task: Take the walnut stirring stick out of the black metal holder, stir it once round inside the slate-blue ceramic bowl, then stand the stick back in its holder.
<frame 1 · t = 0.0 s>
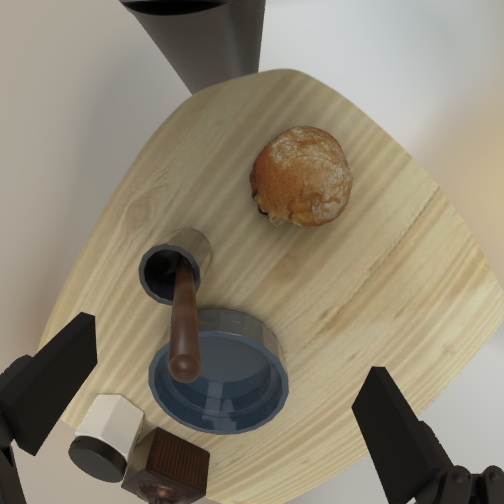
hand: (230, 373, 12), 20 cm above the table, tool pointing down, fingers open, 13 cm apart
stick: (185, 253, 31), point 1 cm above the table, tilted 11°, touching holder
manual coffee grinder: (182, 457, 41), on the table
bread roll: (298, 179, 30), on the table
holder: (187, 252, 32), on the table
jar: (120, 411, 38), on the table
bowl: (221, 360, 35), on the table
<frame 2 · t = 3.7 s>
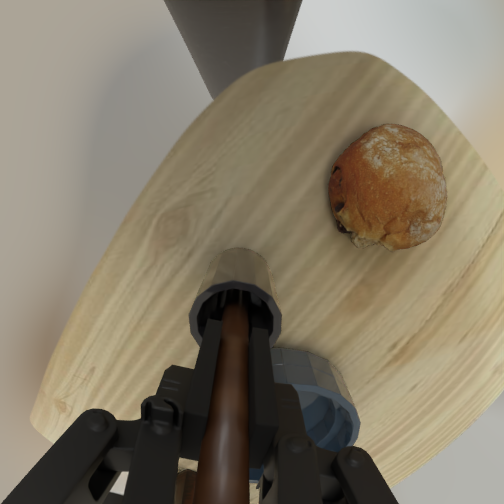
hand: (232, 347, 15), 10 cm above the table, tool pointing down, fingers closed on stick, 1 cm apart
stick: (238, 281, 24), point 1 cm above the table, touching gripper, holder
manual coffee grinder: (212, 495, 34), on the table
bread roll: (379, 189, 23), on the table
holder: (239, 279, 25), on the table
jar: (143, 453, 31), on the table
bowl: (272, 403, 28), on the table
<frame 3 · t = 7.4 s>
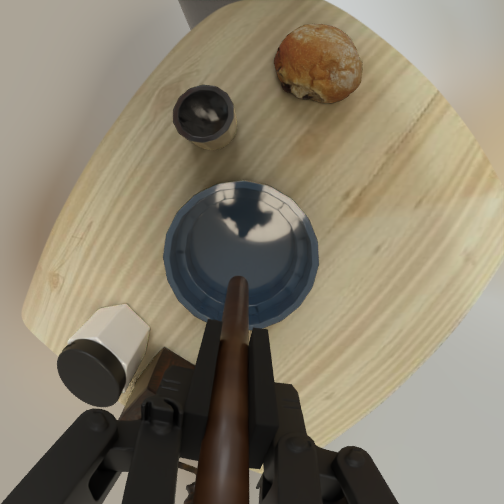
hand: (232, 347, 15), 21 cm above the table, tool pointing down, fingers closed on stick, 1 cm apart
stick: (238, 282, 24), point 11 cm above the table, touching gripper
manual coffee grinder: (189, 393, 41), on the table
bread roll: (315, 69, 30), on the table
holder: (213, 127, 31), on the table
jar: (123, 329, 38), on the table
bowl: (241, 247, 35), on the table
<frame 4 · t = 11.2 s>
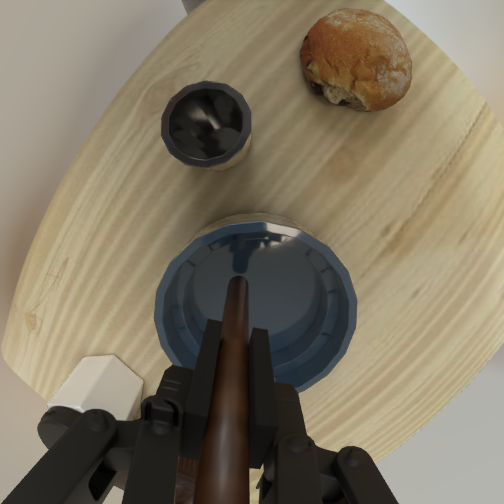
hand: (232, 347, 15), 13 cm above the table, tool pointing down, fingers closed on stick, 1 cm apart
stick: (238, 282, 24), point 3 cm above the table, touching gripper
manual coffee grinder: (191, 445, 33), on the table
bread roll: (350, 67, 22), on the table
holder: (218, 139, 24), on the table
jar: (112, 380, 30), on the table
bowl: (254, 295, 27), on the table
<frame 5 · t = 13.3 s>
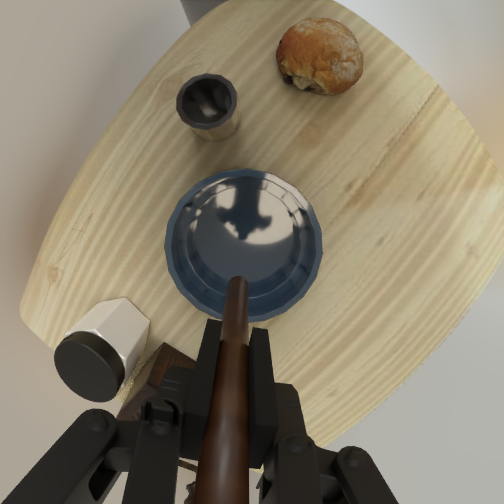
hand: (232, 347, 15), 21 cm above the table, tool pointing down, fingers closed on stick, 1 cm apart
stick: (238, 282, 24), point 11 cm above the table, touching gripper
manual coffee grinder: (190, 391, 40), on the table
bread roll: (316, 62, 30), on the table
holder: (215, 118, 31), on the table
jar: (122, 324, 37), on the table
bowl: (244, 238, 34), on the table
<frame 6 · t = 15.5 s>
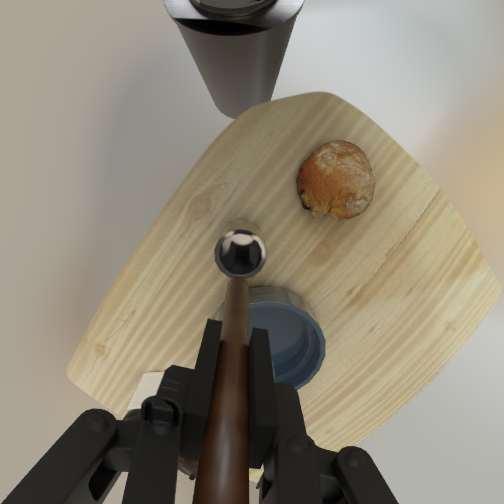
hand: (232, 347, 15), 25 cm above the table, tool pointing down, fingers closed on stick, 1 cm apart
stick: (238, 282, 24), point 16 cm above the table, touching gripper
manual coffee grinder: (217, 431, 48), on the table
bread roll: (332, 182, 38), on the table
holder: (241, 239, 39), on the table
jar: (164, 388, 45), on the table
bowl: (264, 333, 43), on the table
when the fingers open (10 cm above the table, at t = 18.9 s): stick stays where it is, resting on holder.
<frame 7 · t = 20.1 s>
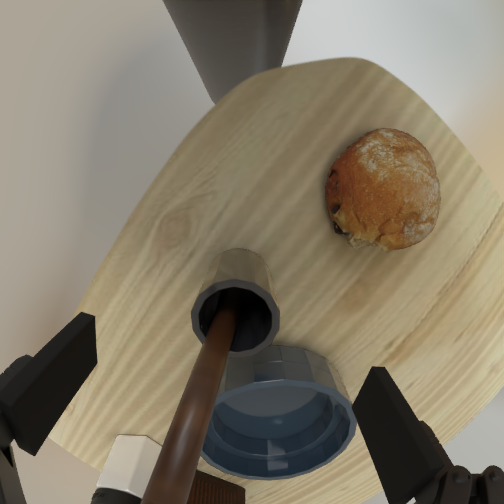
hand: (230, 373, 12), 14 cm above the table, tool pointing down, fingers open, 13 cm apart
stick: (238, 282, 25), point 1 cm above the table, tilted 10°, touching holder
manual coffee grinder: (212, 493, 34), on the table
bread roll: (375, 191, 24), on the table
holder: (238, 278, 26), on the table
jar: (144, 451, 32), on the table
bowl: (271, 400, 29), on the table
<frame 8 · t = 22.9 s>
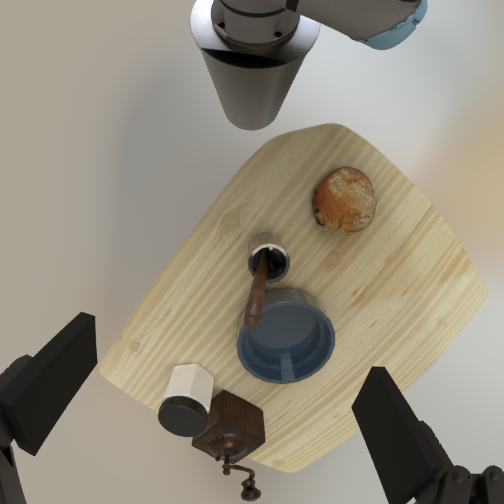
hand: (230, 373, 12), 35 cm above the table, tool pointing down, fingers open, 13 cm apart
stick: (265, 251, 46), point 1 cm above the table, tilted 10°, touching holder
manual coffee grinder: (238, 418, 56), on the table
bread roll: (340, 201, 45), on the table
holder: (265, 249, 47), on the table
jar: (192, 379, 53), on the table
bowl: (282, 328, 50), on the table
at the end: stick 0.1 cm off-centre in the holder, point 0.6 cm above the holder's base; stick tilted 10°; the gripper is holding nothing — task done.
